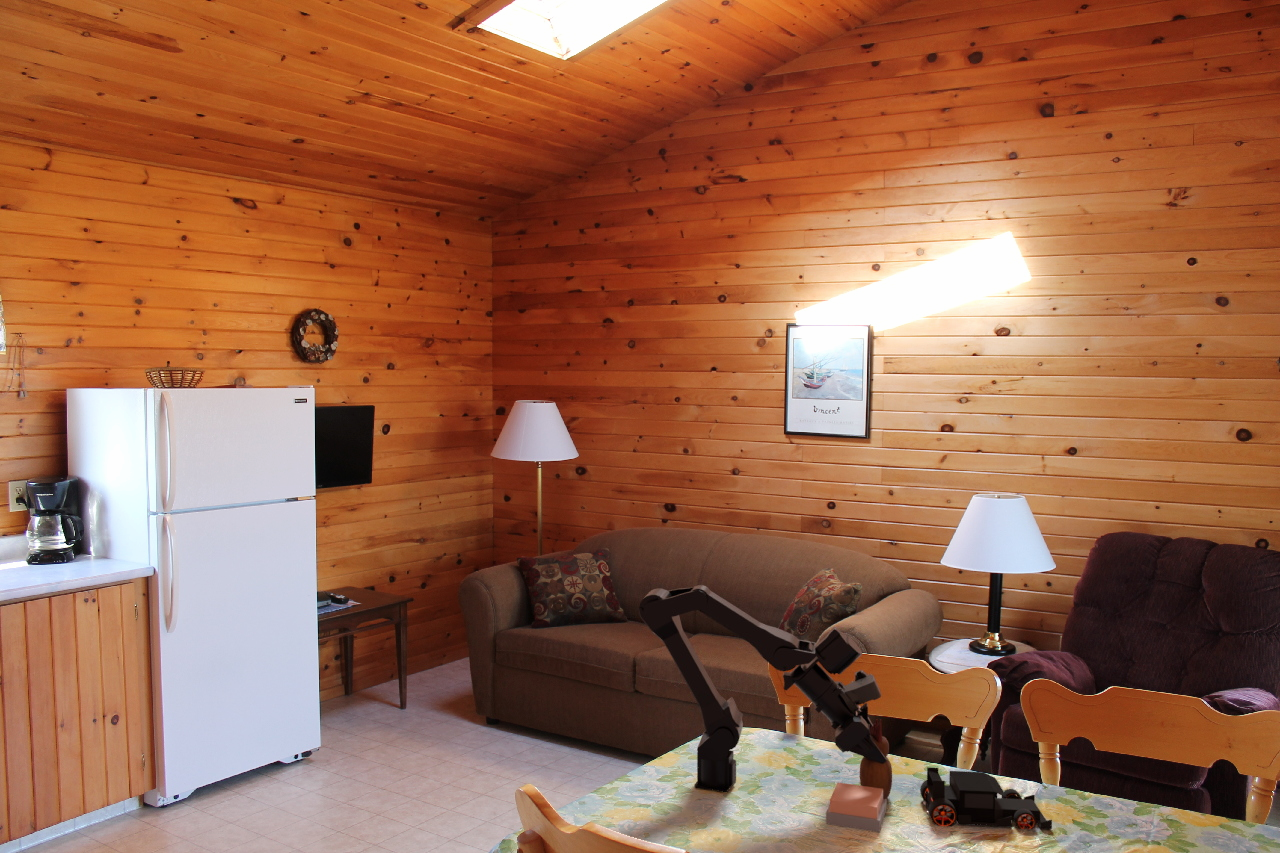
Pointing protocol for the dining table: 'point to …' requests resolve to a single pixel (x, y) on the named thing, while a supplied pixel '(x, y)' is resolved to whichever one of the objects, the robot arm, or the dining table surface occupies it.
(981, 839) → the dining table surface
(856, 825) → the brick plinth
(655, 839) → the dining table surface
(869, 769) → the wooden figurine
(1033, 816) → the black toy car
